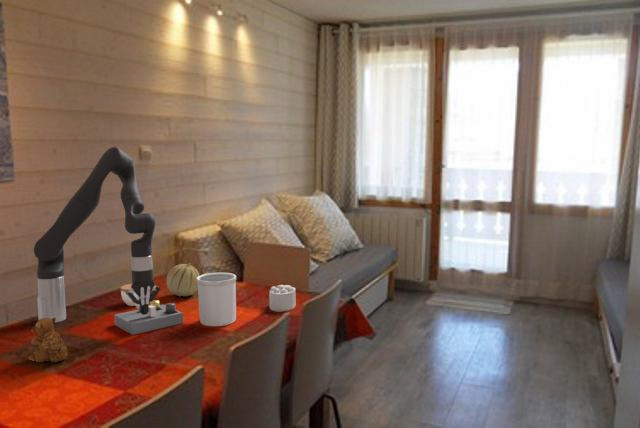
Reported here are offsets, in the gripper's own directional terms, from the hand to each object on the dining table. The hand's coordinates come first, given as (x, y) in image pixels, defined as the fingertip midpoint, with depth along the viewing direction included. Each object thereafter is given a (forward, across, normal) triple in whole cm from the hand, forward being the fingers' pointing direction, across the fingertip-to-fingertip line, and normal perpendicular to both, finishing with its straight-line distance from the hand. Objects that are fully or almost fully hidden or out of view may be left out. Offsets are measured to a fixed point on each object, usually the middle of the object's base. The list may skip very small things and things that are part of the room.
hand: (144, 314), depth 205 cm
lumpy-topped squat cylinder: (+6, +55, -13) cm, 56 cm away
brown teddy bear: (+6, -35, -8) cm, 36 cm away
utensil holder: (+6, +25, -11) cm, 27 cm away
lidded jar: (+6, +12, +35) cm, 37 cm away
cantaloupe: (+6, +34, +32) cm, 47 cm away
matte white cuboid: (+2, +3, 0) cm, 3 cm away
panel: (+6, +4, +4) cm, 8 cm away
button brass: (+2, +8, +8) cm, 12 cm away
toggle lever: (+2, +3, +9) cm, 9 cm away
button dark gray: (+2, +11, 0) cm, 11 cm away
